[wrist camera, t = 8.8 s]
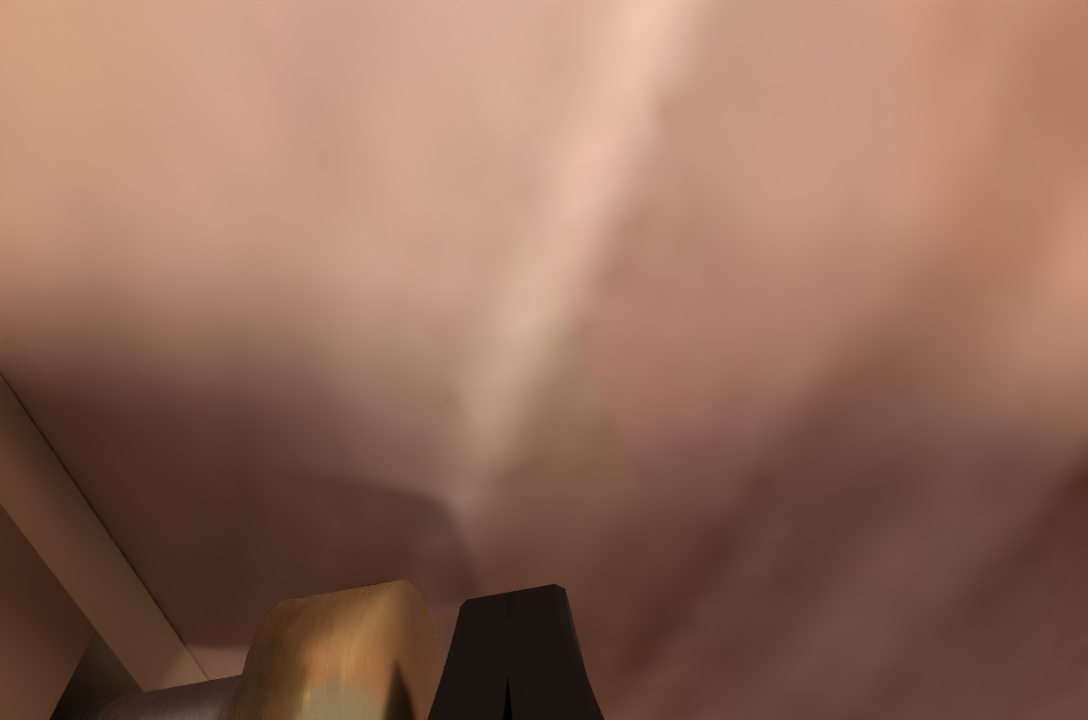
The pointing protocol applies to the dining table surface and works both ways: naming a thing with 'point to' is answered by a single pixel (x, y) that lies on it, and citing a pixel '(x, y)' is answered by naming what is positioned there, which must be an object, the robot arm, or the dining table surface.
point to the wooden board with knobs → (69, 591)
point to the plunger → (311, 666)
